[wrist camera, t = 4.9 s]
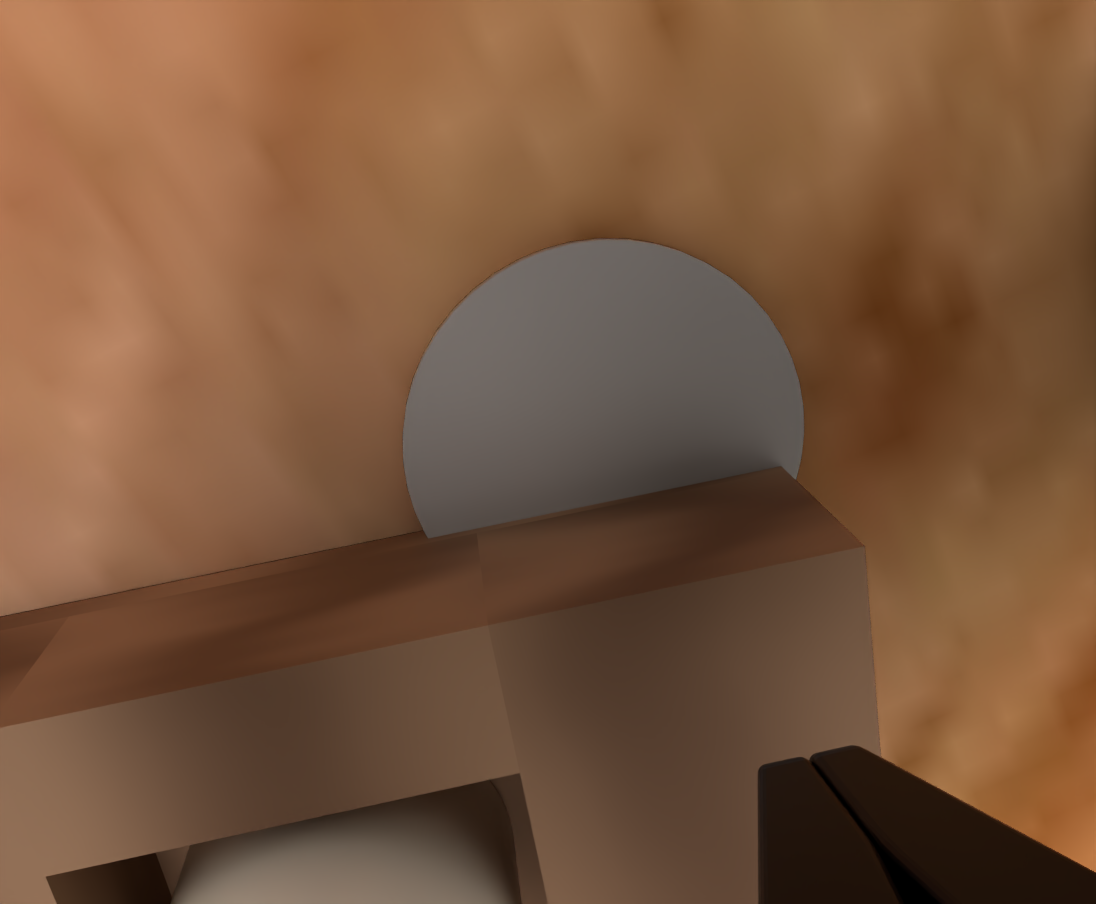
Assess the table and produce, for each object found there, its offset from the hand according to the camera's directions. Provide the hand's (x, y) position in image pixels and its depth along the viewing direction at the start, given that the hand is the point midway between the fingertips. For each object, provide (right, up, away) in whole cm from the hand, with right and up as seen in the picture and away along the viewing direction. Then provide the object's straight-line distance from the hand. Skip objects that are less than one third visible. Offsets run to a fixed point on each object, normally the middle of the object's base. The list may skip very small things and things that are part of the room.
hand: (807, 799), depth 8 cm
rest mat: (-1, +3, +9) cm, 10 cm away
